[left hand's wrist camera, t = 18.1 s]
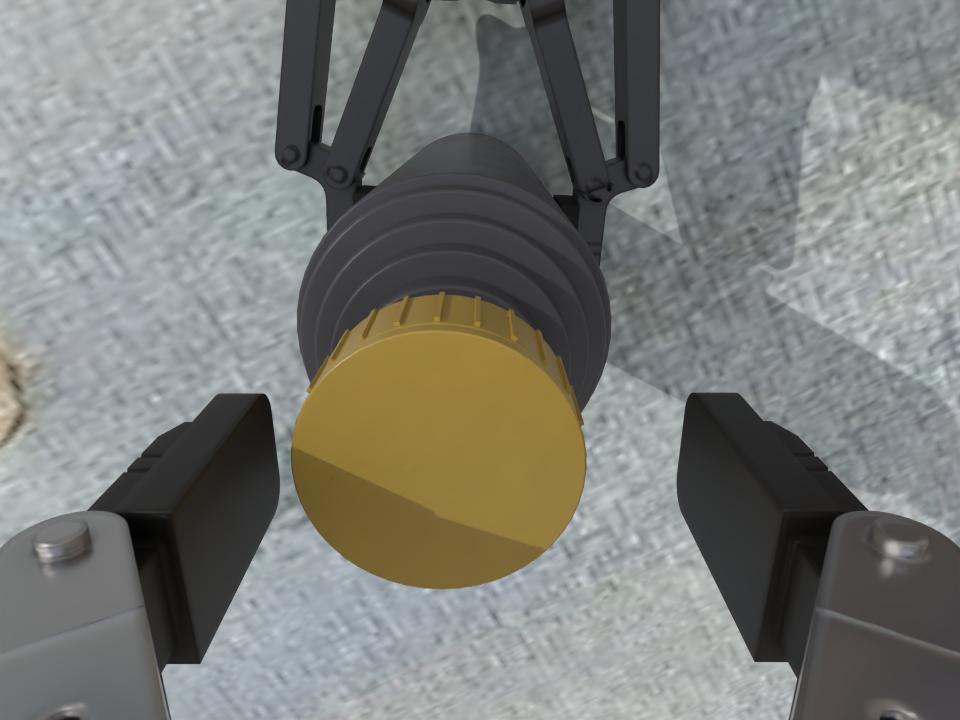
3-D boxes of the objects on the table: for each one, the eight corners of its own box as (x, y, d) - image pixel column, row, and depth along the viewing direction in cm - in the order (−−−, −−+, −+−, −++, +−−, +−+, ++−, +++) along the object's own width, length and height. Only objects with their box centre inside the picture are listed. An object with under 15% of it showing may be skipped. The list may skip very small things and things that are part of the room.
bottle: (479, 308, 36) (476, 702, 12) (366, 220, 34) (114, 484, 11) (571, 198, 34) (779, 420, 10) (455, 99, 32) (388, 94, 9)
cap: (617, 349, 11) (643, 395, 9) (511, 553, 13) (516, 626, 11) (365, 248, 11) (342, 277, 9) (285, 475, 12) (252, 538, 10)
